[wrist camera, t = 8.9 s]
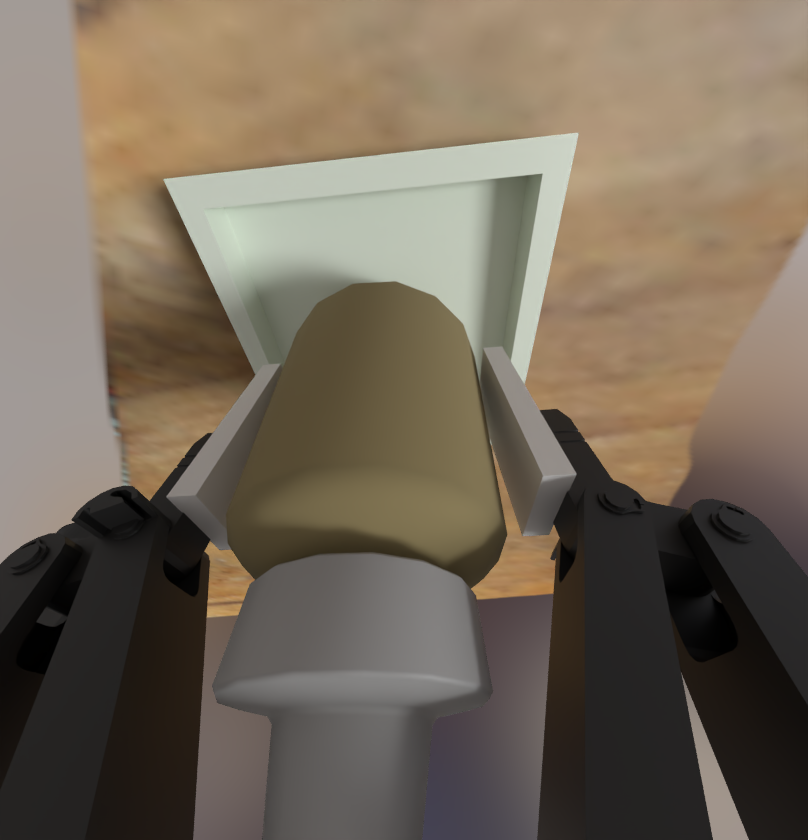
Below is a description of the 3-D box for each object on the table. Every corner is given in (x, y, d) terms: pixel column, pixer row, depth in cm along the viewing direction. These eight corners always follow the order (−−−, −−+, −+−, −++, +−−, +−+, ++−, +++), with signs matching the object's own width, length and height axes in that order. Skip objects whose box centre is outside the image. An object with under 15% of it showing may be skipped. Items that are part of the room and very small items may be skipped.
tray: (303, 432, 22) (294, 456, 20) (199, 178, 13) (163, 179, 11) (502, 419, 22) (511, 443, 20) (550, 139, 12) (578, 132, 10)
